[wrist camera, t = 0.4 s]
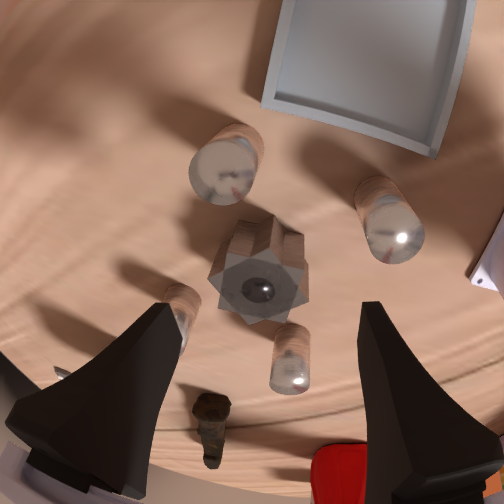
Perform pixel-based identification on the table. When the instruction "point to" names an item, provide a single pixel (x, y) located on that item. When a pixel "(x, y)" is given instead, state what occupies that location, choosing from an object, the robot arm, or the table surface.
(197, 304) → the cylinder
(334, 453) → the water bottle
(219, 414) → the dark brown bar
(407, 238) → the cylinder
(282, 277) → the nut
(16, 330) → the table surface
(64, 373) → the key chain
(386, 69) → the tray
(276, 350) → the cylinder
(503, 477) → the cake pan box
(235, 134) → the cylinder
